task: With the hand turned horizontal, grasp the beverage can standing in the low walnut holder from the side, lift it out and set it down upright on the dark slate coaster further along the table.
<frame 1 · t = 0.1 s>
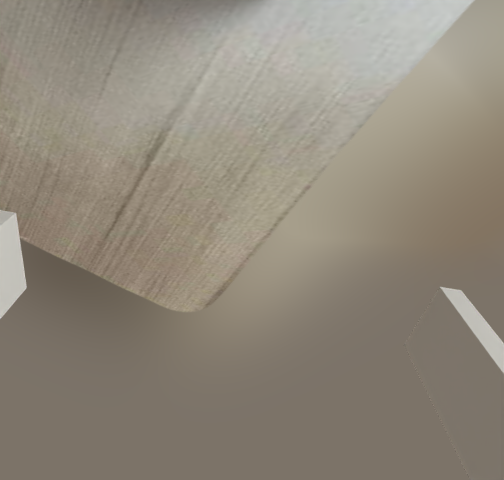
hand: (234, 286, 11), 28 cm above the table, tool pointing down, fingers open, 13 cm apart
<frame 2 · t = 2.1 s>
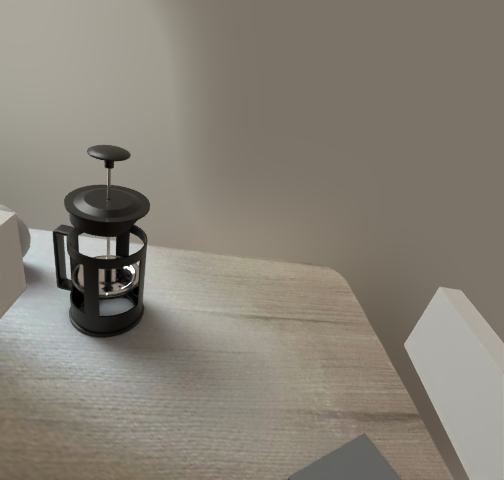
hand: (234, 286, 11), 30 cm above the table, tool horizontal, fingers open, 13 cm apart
french press: (104, 311, 49), on the table
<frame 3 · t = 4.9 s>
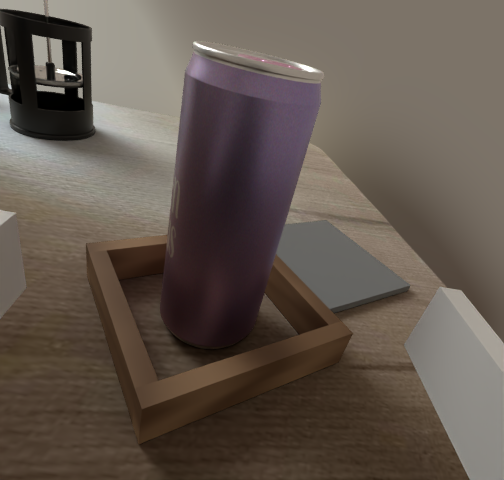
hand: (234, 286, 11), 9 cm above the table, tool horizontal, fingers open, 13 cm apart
walnut holder: (207, 316, 22), on the table
beverage can: (207, 319, 23), resting in walnut holder
slate coaster: (318, 262, 31), on the table
french press: (50, 128, 45), on the table
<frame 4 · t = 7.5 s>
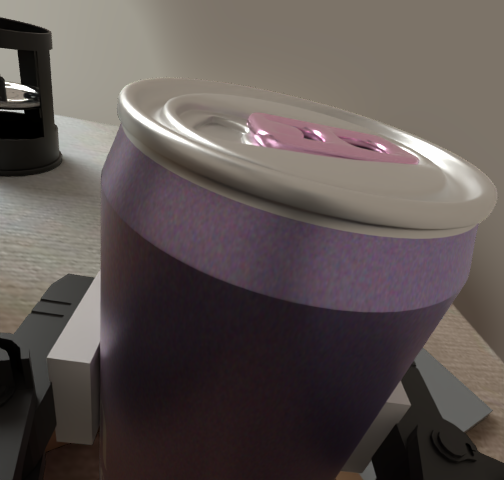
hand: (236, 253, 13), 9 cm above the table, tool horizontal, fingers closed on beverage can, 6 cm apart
slate coaster: (355, 370, 21), on the table
french press: (4, 158, 36), on the table
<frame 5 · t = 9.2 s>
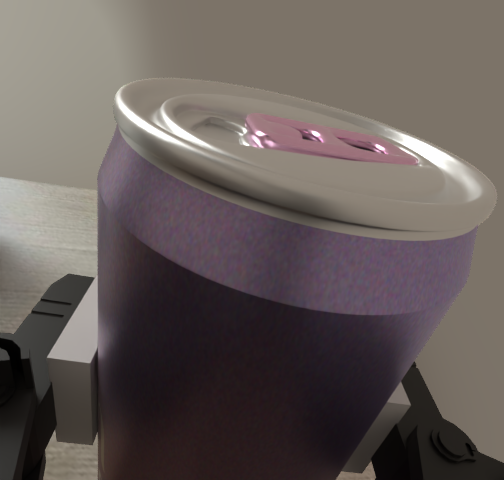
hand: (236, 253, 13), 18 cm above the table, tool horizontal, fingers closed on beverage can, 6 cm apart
when the fingers open (10 cm above the table, at t = 11.2 s): beverage can stays where it is, resting on slate coaster.
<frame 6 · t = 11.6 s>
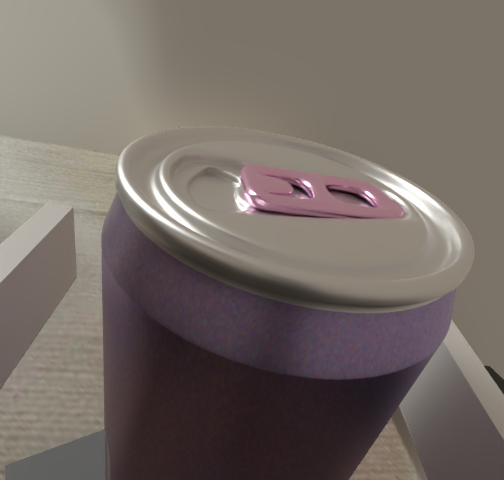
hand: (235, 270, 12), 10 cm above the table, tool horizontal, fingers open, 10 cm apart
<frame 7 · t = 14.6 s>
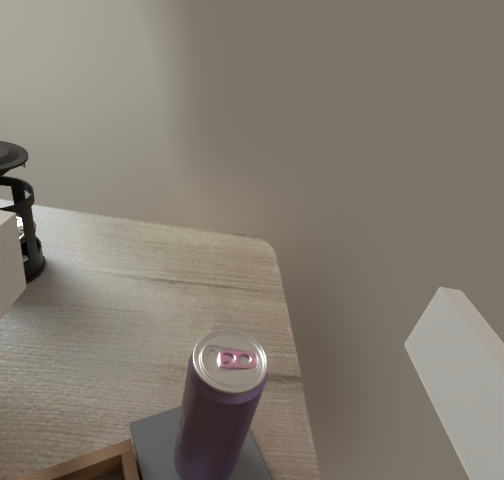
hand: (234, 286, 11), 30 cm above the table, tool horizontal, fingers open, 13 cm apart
beverage can: (204, 458, 34), resting on slate coaster
slate coaster: (200, 459, 34), on the table
french press: (4, 267, 50), on the table
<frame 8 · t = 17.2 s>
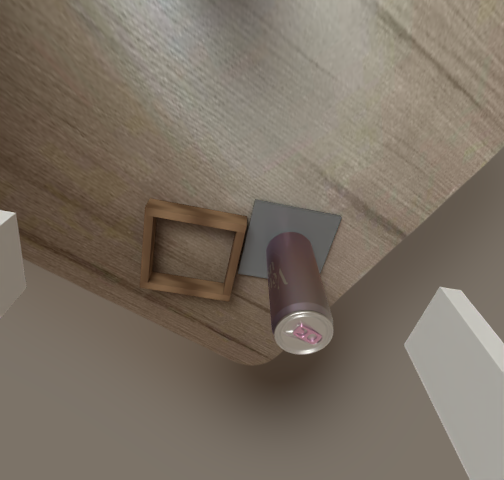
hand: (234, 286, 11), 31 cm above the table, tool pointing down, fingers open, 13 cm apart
walnut holder: (193, 247, 47), on the table
beverage can: (288, 248, 47), resting on slate coaster
slate coaster: (286, 244, 47), on the table
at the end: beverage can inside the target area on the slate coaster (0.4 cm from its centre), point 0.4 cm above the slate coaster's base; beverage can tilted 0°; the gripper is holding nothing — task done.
